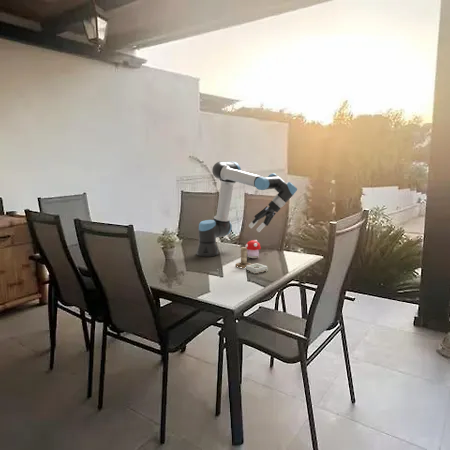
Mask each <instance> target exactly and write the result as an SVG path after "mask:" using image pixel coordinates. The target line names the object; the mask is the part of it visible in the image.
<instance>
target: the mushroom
mask: <svg viewBox="0 0 450 450" xmlns="http://www.w3.org/2000/svg"><path fill="white" fill-rule="evenodd" d="M245 247H247V257H248V256H252V257H253V256H258V257H259V255H260V250H261V249H262V247H261V243H260V242H258V240H257V239H252V240H249V241H247V243H245Z"/></svg>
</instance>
